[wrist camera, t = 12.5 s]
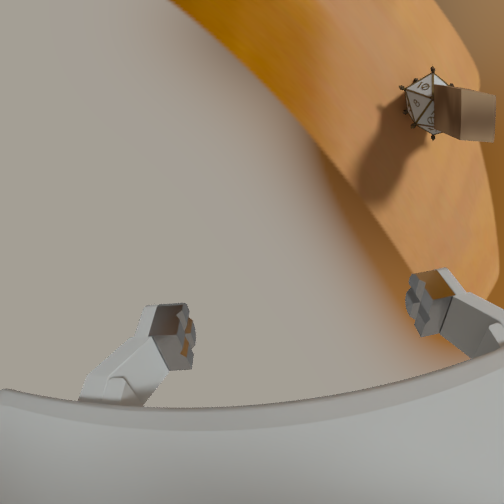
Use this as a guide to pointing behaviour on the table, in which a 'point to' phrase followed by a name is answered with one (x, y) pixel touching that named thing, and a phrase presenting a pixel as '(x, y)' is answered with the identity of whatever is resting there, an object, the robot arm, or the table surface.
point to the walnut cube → (464, 113)
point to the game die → (423, 101)
